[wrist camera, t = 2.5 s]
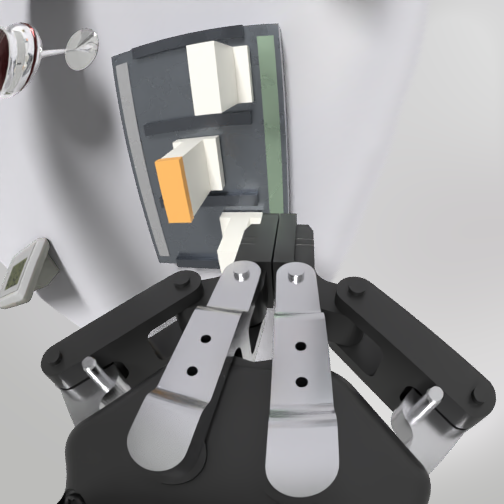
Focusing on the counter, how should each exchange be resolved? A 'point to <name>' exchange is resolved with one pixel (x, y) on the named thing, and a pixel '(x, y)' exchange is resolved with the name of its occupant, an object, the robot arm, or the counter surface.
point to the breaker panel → (190, 126)
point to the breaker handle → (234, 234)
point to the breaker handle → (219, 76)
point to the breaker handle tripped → (189, 176)
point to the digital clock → (27, 274)
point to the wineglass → (37, 55)
